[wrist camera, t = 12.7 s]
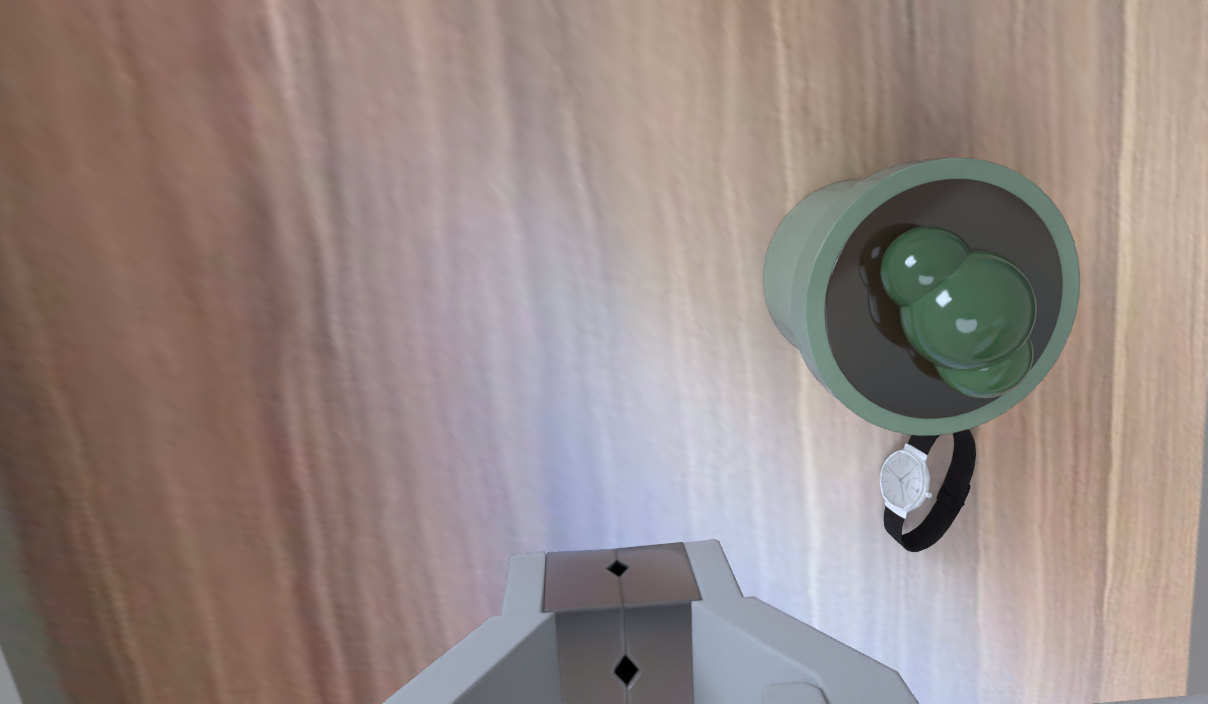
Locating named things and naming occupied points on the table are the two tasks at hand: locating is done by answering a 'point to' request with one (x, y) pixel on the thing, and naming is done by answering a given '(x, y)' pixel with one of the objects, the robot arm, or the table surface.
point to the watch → (925, 489)
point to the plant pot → (926, 291)
